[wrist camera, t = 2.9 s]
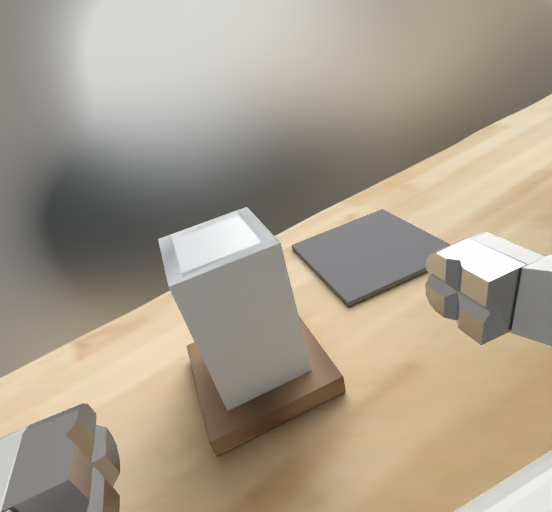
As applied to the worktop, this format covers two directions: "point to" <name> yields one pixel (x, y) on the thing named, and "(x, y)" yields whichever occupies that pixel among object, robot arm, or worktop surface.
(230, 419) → the square wooden plinth
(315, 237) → the rubber mat
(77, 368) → the worktop surface
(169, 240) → the sleeve lid
